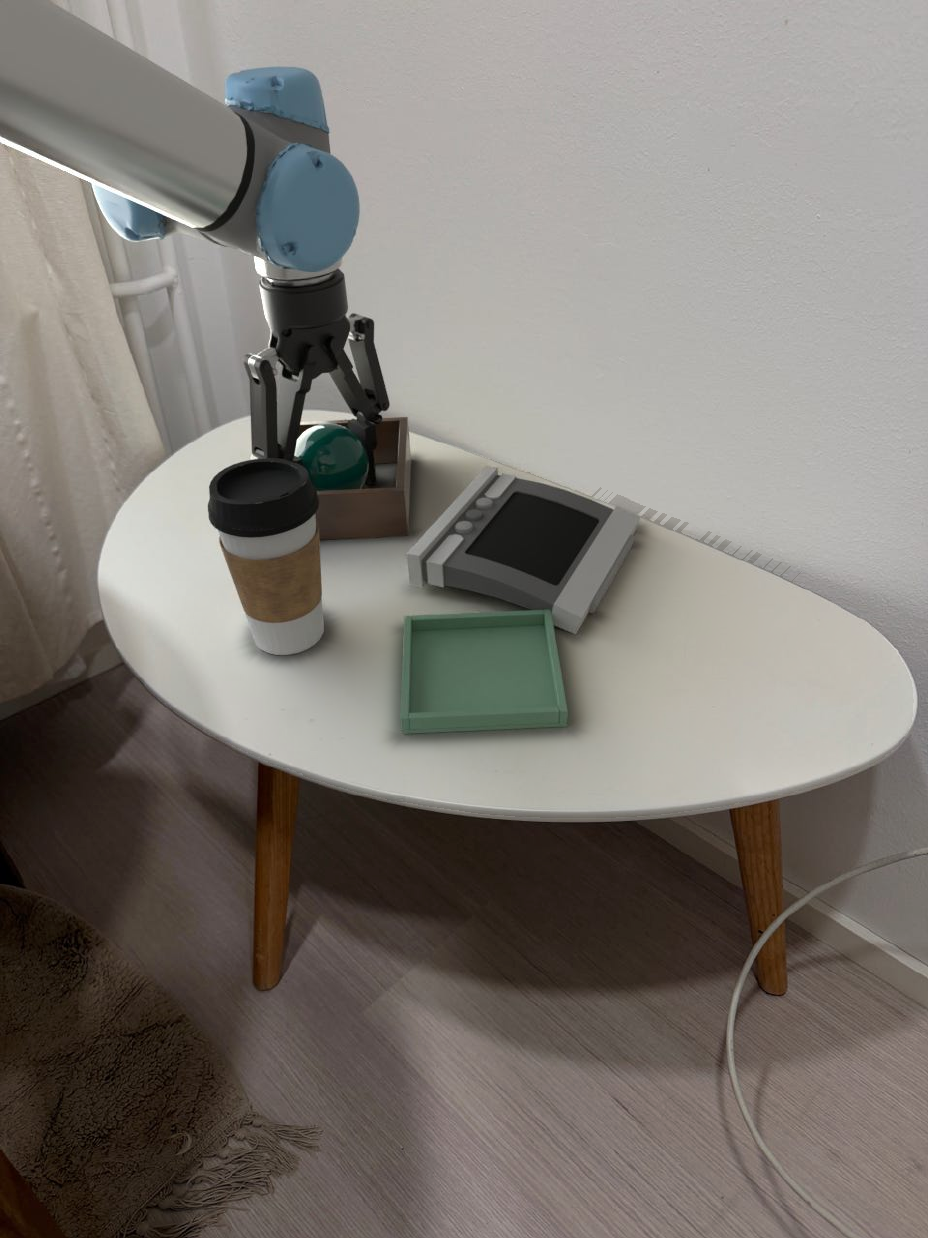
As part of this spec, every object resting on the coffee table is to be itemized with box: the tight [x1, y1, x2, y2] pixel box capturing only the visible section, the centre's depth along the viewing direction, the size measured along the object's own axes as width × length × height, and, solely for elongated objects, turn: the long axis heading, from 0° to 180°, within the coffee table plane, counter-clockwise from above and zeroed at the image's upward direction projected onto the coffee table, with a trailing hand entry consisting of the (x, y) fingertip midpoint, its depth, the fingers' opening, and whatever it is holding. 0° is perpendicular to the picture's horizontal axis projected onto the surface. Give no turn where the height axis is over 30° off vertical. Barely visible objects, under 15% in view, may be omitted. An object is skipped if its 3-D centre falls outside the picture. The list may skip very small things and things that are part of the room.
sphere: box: [294, 423, 369, 491], centre depth 93 cm, size 8×8×8 cm
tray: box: [400, 609, 569, 735], centre depth 72 cm, size 12×12×2 cm
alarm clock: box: [406, 465, 641, 635], centre depth 84 cm, size 17×5×16 cm
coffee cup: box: [207, 458, 325, 656], centre depth 73 cm, size 8×8×15 cm
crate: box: [249, 416, 412, 541], centre depth 94 cm, size 16×16×5 cm
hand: (333, 496), depth 95 cm, fingers open, 8 cm apart
